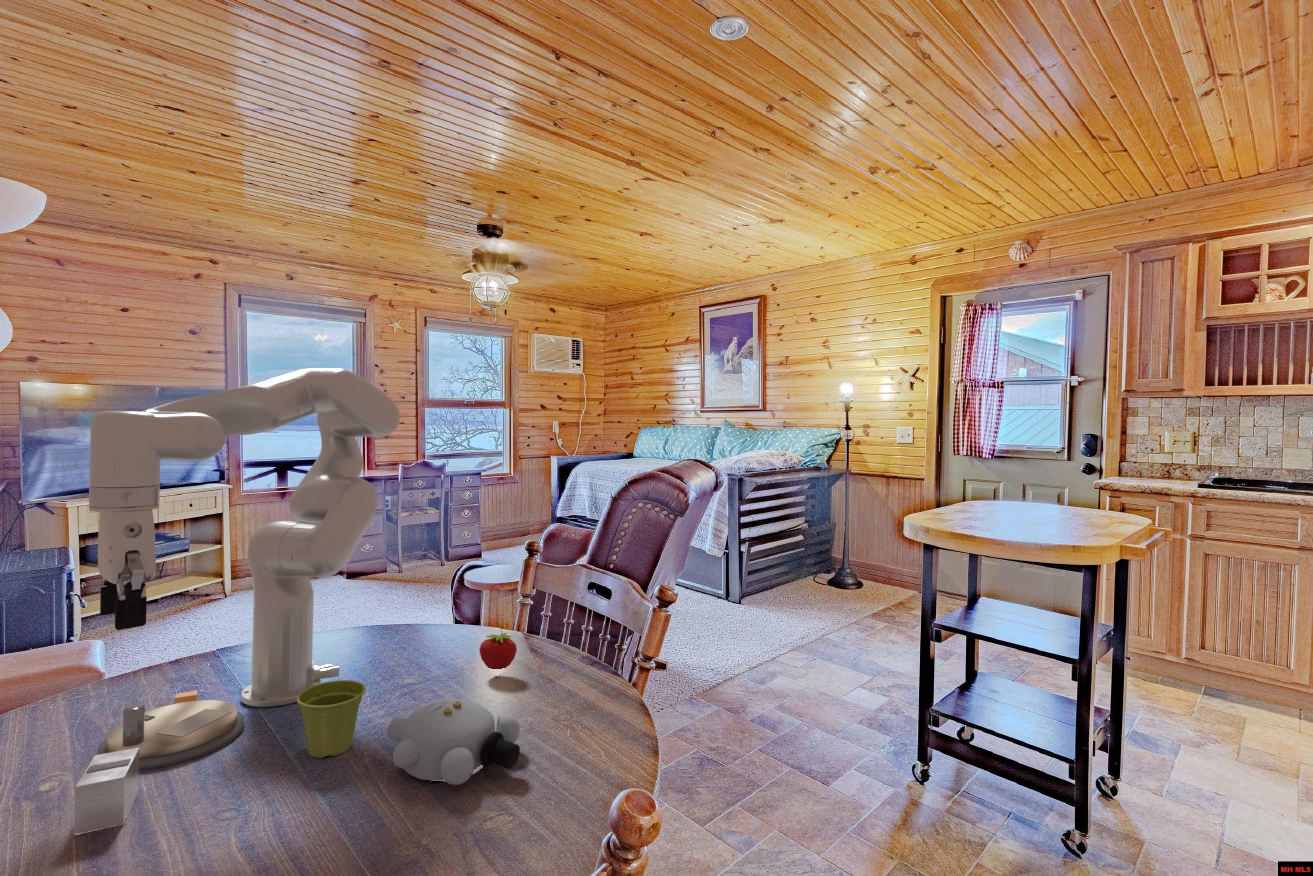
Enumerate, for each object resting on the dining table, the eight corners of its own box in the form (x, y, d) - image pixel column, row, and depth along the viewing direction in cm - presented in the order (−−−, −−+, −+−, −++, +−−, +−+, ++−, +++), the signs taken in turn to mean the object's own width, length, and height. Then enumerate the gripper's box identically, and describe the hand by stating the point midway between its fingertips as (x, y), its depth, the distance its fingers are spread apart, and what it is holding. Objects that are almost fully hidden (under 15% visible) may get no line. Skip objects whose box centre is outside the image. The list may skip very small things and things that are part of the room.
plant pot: (378, 740, 97) (379, 685, 97) (328, 770, 88) (330, 710, 88) (332, 729, 100) (333, 676, 100) (280, 757, 92) (281, 699, 92)
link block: (138, 792, 82) (139, 746, 82) (123, 826, 75) (124, 776, 75) (94, 801, 80) (94, 754, 80) (74, 837, 73) (75, 786, 73)
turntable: (241, 701, 107) (242, 664, 107) (232, 742, 93) (233, 700, 93) (121, 720, 99) (122, 681, 99) (92, 768, 85) (93, 722, 85)
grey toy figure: (355, 775, 87) (472, 824, 80) (361, 716, 86) (479, 761, 80) (439, 722, 103) (542, 760, 96) (445, 672, 103) (548, 706, 96)
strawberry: (485, 669, 127) (486, 621, 127) (520, 672, 126) (521, 623, 126) (473, 680, 121) (474, 630, 121) (509, 683, 120) (511, 632, 120)
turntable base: (249, 699, 111) (249, 682, 111) (239, 751, 93) (239, 731, 93) (118, 720, 102) (119, 702, 102) (80, 782, 84) (80, 760, 84)
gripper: (175, 502, 84) (172, 627, 84) (144, 492, 95) (141, 603, 95) (102, 506, 78) (99, 640, 78) (78, 495, 89) (75, 613, 89)
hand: (122, 620), depth 87 cm, fingers open, 9 cm apart
